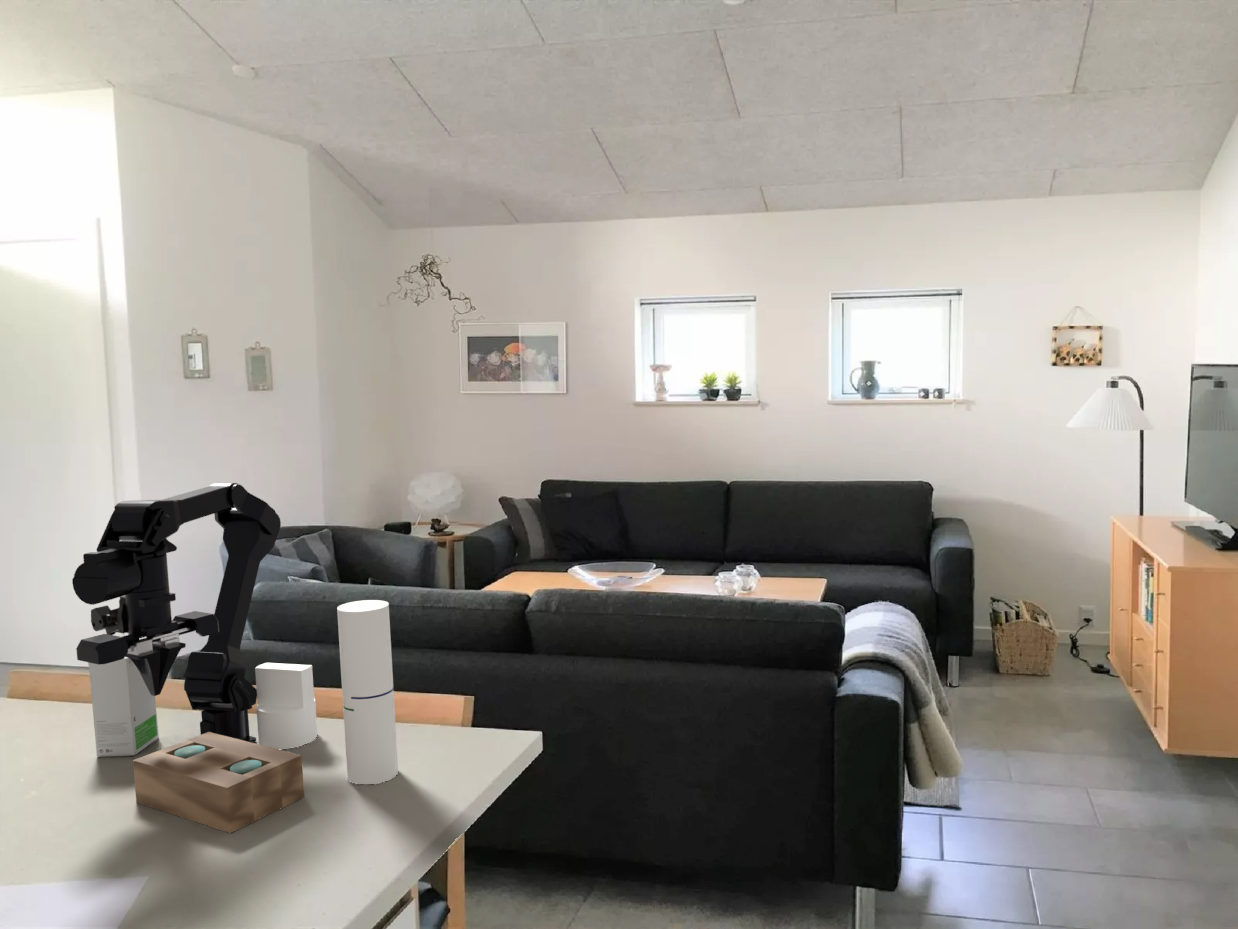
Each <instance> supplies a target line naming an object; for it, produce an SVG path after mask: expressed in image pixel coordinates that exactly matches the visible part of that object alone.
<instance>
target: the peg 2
mask: <svg viewBox="0 0 1238 929" xmlns="http://www.w3.org/2000/svg"><path fill="white" fill-rule="evenodd" d="M260 767H262V763H261V762H260V761H258V760H246V761H241V762H238V763H235V764H233V765H232V766H231V767H230V771H231V772H234V773H238V774H241V775H243V774H246V773H248V772H250V771H253V770H255V769H257V768H260Z"/></svg>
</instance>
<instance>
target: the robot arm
mask: <svg viewBox="0 0 1238 929" xmlns="http://www.w3.org/2000/svg"><path fill="white" fill-rule="evenodd" d="M113 508H114V510H113V512H112V514H111V515H110V517H109V520H108V522H107V525H106V527H105V529H104V532H103V534H102V536H101V538H100V540H99V543H98V545H97V547H96V552H93V551H91V552H87V553H84V554H83V558H82V559H83V563H81V564H80V565H78V567H76V570H75V571H74V574H73V578H72V580H71V581H72V582H71V583H72V587H73V590H74V593H75V594H76V596H77V598H79V600H80V601H81V602H83V603H85V604H87V605H91V606H93V605H98V604H101V603H104V602H109V601H111V600H114V599H118V598H119V600H118V603H119V604H118V607H117V608H113V609H111V607H109V605H102V606H99V607H98V606H97V607H94V608H93V609H91V610H90V623H91V627H92V630H94V631H95V632H100V631H104V630H105V633H102V634H99V635H93V636H91V637H87V638H82V639H80V641H79V643H78V645H77V646H76V648H75V649H76V650H75V651H76V660H77V661H81V662H85V663H88V662H89V663H94V664H98V665H100V664H107V663H111V662H114V661H118V660H121V659H124V657H128V658H129V659H130V660H131V661H132V662H133V663H134V665H135V666H136V667H137V669H138V671H139V672H140V674H141V676H142V678H143V680H144V682H145V684H146V686H147V688H148V690H149V692H150V694H151V695H153V696H155V697H156V696H158V695H161V693H162V691H163V688H164V686H165V683H166V681H167V679H168V676H169V674H170V672H171V669H172V668H173V665H174V663H175V661H176V659H177V657H178V655H179V654H180V652H181V650H182V649H184V648H186V646H187V643H184V642H180V641H181V640H180V636H181V635H185V634H188V633H192V632H195V633H196V634H197V635H198V636H200V637H207V636H208V638H207V640H206V641H207V642H206V644H205V645H204V646H202V648H201V649H200V650H199V651H191V652H190V654H189V656H188V658H187V665H186V669H185V671H184V674H183V675H182V678H183V679H184V681H183V690H184V691H185V694H186V697H187V699H188V702H189V705H190V707H191V709H192V710H193V711H198V710H199V711H200V713H201V714H200V715H201V720H200V722H199V728H200V729H199V731H200V735H202V734H204V733H207V732H212V733H215V734H219V735H223V736H227V737H231V738H235V739H239V740H243V741H247V742H251V743H254V742H256V741H257V737H255V736H252V735H250V721H249V710H251V709H253V706H254V705H256V704H257V689H256V687H255V686H253V684H251V683H250V682H249V681H248V680H247V678H246V671H247V670H246V669H247V665H246V663H245V659H244V657H243V654H242V651H241V646H242V641H243V637H244V632H245V627H246V625H247V624H246V623H247V620H248V614H249V611H250V606H251V603H252V602H251V601H252V597H253V593H254V589H255V585H256V581H257V577H258V576H257V575H258V572H259V568H260V564H261V561H262V560H263V559H264V558H266V556H267V555H268V554H269V553H270V552H271V550H273V548H274V546H275V544H276V541H277V538H278V536H279V532H280V530H281V529H280V528H281V527H282V526H281V525H282V522H281V518H280V515H279V514H278V513H277V512H276V510H275V509H274V508H273V507H271V506H270V505H269V503H268V502H266V501H264V500H263V499H261V498H259V497H257V496H256V495H254V494H252V493H250V492H249V491H248V490H247V489H246V488H245V487H244V486H243V485H241V484H239V483H237V482H215V483H214V482H213V483H212V484H209V485H208V486H206V487H202V488H199V489H195V490H192V491H188V492H184V493H182V494H181V493H180V494H177V495H174V496H171V497H167V498H164V499H141V500H140V499H137V500H134V499H133V500H122V501H120V502H118V503H117V504H116V505H114V507H113ZM213 514H214V520H215V522H216V523H217V524H218V525H219V526H220V527H221V528H223V531H222V532H223V533H222V542H223V545H224V547H225V550H226V553H227V560H226V565H225V569H224V572H223V577H222V581H221V586H220V587H219V588H220V589H219V590H220V591H219V593H218V597H217V601H216V604H215V605H216V606H215V609H214V612H213V613H209V612H204V611H197V610H194V611H190V612H186V613H183V614H177V615H175V616H174V617H173V618H172V608H171V607H172V606H171V602H174V601H177V599H176V593H174V592H170V582H169V568H168V558H167V557H168V556H167V554H169V553H172V552H175V551H177V549H178V546H176V545H175V544H174V543H172V542H171V541H169V539H167V538H169V537H171V536H173V535H174V534H176V533H178V532H179V529H180V527H181V526H182V525H183V524H186V523H189V522H192V521H195V520H198V519H201V518H204V517H207V516H210V515H213ZM116 633H119V634H127V635H123V636H118V635H115V634H116Z"/></svg>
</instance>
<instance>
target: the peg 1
mask: <svg viewBox="0 0 1238 929" xmlns="http://www.w3.org/2000/svg"><path fill="white" fill-rule="evenodd" d="M204 751H205V747H204V746H200V745H194V746H187V747H183V748H180V749H178V750H177V751H175V753H174V756H177V757H181V758H184V759H186V758H189V757H192V756H194V755H197V754H199V753H202V752H204Z"/></svg>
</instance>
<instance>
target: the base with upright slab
mask: <svg viewBox="0 0 1238 929" xmlns="http://www.w3.org/2000/svg"><path fill="white" fill-rule="evenodd" d="M254 672H255V686H256V687H255V688H256V689H257V699H256V704H257V705H256V720H257V736H258V737H257V738H258V744H259V745H263V746H267V747H271V748H275V749H287V748H291V747H297V746H300V745H303V744H307V743H308V742H310V741H313V740H314V739H315V738H316V737H317V738H318V736H317V735H319V734H318V722H317V707H316V697H315V694H314V692H315V691H314V690H315V689H314V677H313V675H314V674H313V673H314V672H313V665H312V664H297V663H279V662H278V663H277V662H264V663H262V664H258V665H257V666H256V667H255V668H254ZM317 738H316V739H317ZM316 739H315V740H316ZM315 740H314V741H315ZM314 741H313V742H314ZM307 745H308V744H307ZM297 748H298V747H297ZM287 750H288V749H287Z"/></svg>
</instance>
